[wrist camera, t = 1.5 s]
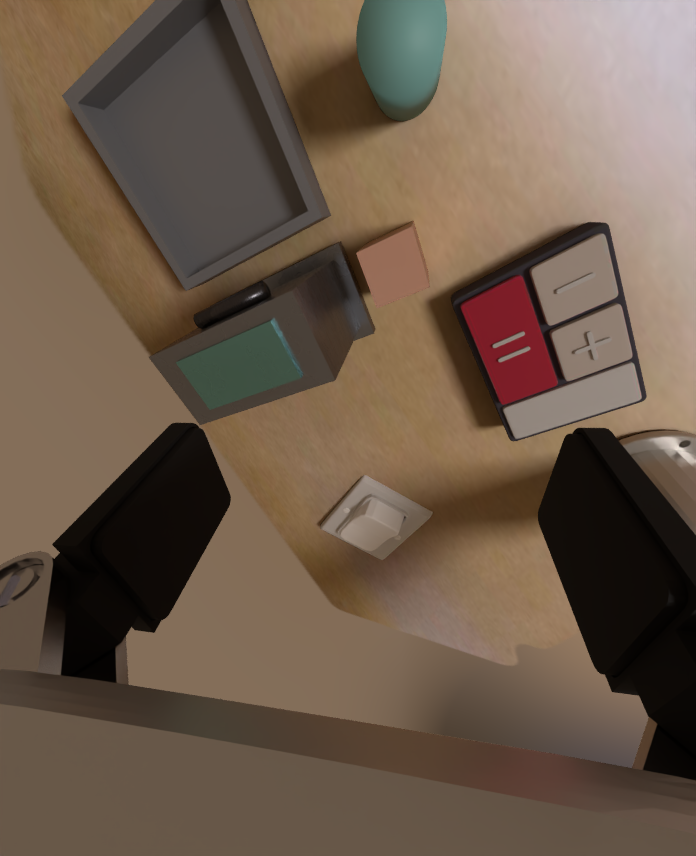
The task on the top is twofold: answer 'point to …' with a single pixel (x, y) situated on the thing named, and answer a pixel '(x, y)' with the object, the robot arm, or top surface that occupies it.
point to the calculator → (554, 334)
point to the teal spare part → (402, 53)
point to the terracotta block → (394, 265)
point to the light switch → (375, 518)
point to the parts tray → (199, 136)
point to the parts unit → (269, 338)
